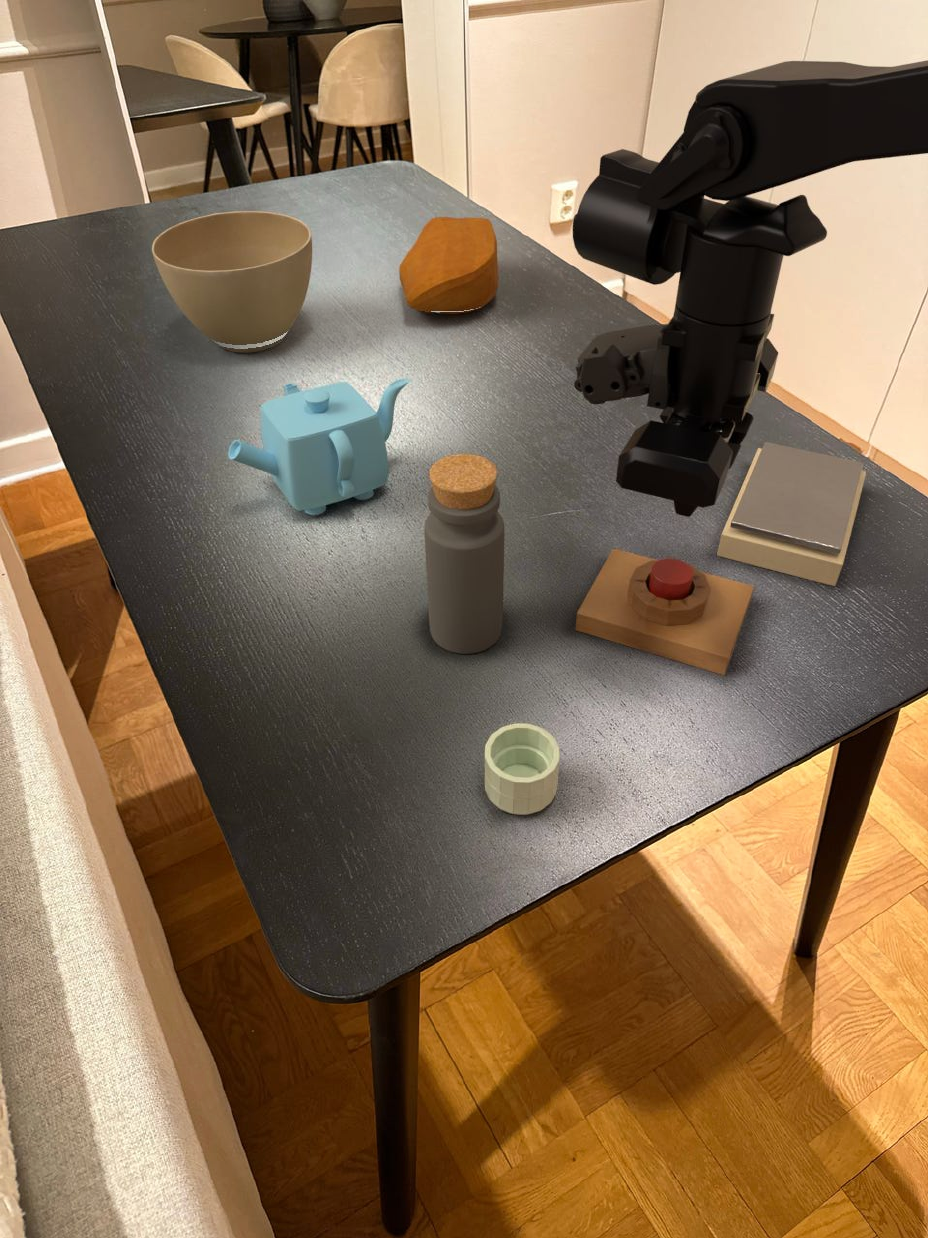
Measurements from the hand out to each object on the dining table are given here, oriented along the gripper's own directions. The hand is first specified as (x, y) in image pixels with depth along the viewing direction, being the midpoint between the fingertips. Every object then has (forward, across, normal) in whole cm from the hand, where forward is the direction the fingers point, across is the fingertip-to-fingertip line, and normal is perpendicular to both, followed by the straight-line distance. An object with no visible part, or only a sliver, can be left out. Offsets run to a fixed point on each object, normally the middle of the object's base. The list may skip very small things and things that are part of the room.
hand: (683, 512), depth 65 cm
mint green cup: (+10, +21, -4) cm, 23 cm away
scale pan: (+8, -17, +7) cm, 20 cm away
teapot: (+11, -5, -35) cm, 37 cm away
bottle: (+11, +8, -14) cm, 19 cm away
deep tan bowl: (+10, -28, -61) cm, 68 cm away
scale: (+10, -17, +7) cm, 21 cm away
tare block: (+10, 0, 0) cm, 10 cm away
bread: (+10, -48, -44) cm, 66 cm away
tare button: (+7, 0, 0) cm, 7 cm away
